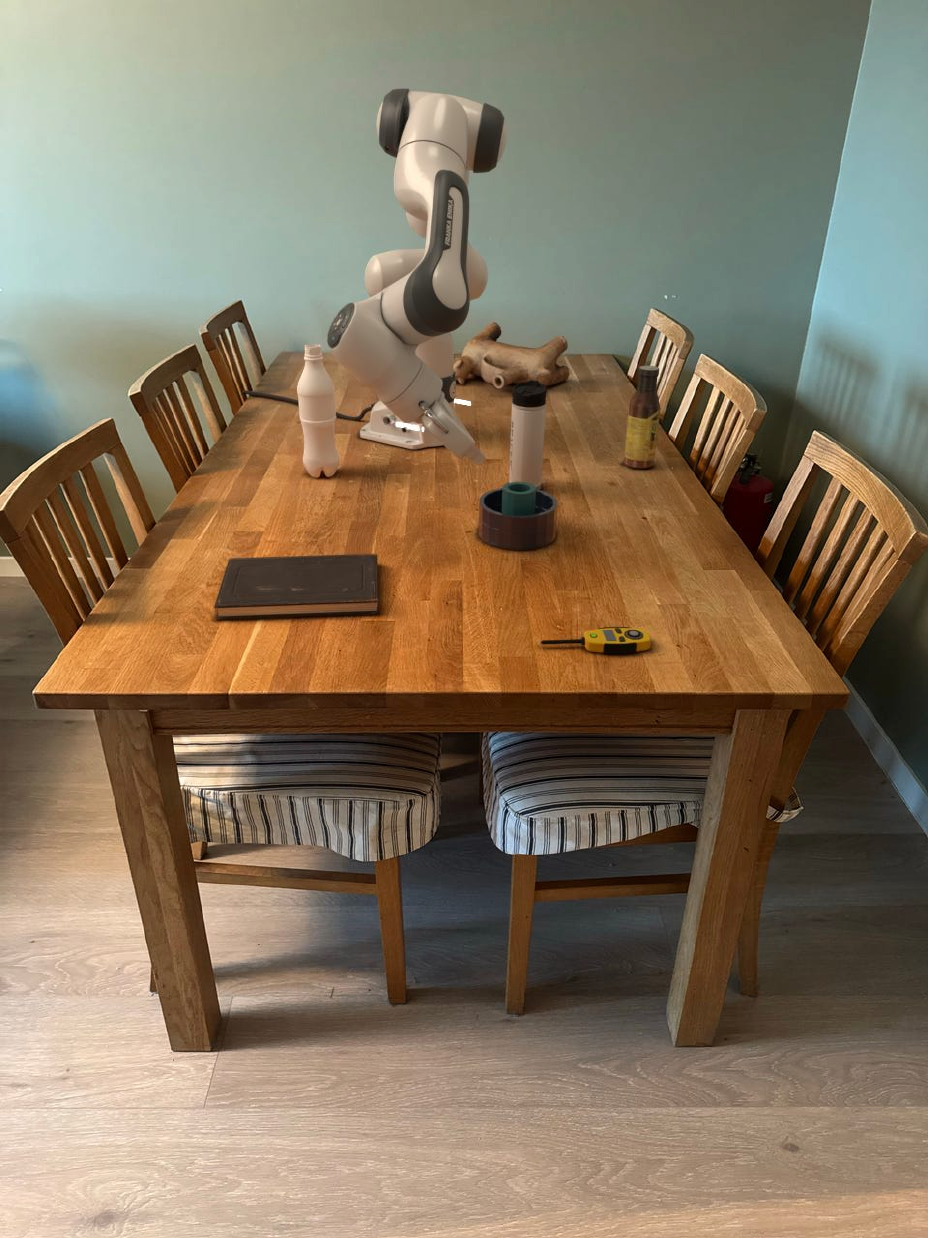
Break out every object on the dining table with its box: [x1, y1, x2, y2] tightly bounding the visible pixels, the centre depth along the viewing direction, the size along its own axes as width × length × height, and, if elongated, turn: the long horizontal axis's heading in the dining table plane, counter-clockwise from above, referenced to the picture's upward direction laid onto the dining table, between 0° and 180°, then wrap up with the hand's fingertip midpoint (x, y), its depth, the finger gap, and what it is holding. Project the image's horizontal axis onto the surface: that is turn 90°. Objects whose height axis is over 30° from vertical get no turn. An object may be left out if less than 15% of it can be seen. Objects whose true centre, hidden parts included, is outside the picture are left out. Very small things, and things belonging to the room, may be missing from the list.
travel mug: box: [508, 380, 548, 490], centre depth 165 cm, size 6×7×20 cm
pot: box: [478, 487, 559, 551], centre depth 150 cm, size 13×13×6 cm
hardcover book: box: [213, 553, 379, 621], centre depth 132 cm, size 16×23×2 cm
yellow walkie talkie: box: [540, 626, 652, 655], centre depth 119 cm, size 5×2×15 cm
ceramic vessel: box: [454, 321, 570, 390], centre depth 232 cm, size 13×31×25 cm
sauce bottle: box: [623, 365, 661, 470], centre depth 176 cm, size 7×6×20 cm
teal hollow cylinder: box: [502, 482, 536, 515], centre depth 149 cm, size 6×6×8 cm
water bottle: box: [296, 343, 340, 479], centre depth 169 cm, size 7×7×25 cm
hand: (475, 450), depth 143 cm, fingers open, 8 cm apart
